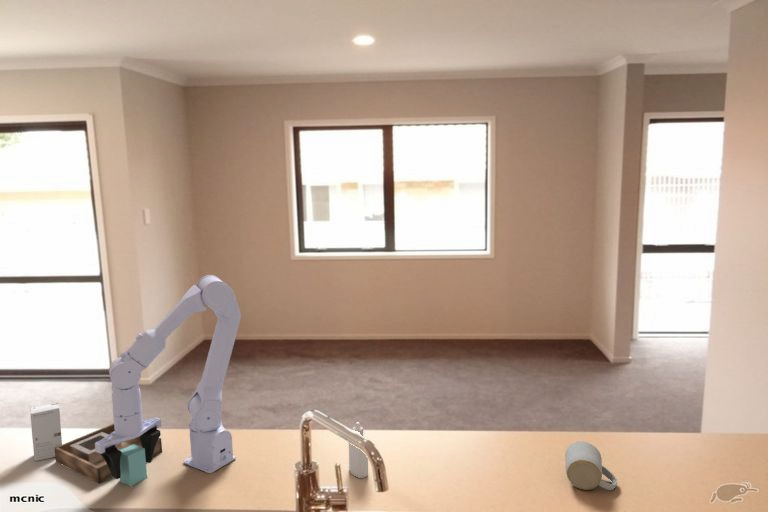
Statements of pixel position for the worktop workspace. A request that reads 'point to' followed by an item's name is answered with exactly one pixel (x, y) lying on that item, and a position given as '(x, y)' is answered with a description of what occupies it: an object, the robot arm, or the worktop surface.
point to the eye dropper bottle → (358, 458)
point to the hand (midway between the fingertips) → (132, 469)
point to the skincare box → (45, 430)
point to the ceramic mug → (587, 467)
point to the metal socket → (90, 448)
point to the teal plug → (133, 465)
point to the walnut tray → (100, 469)
